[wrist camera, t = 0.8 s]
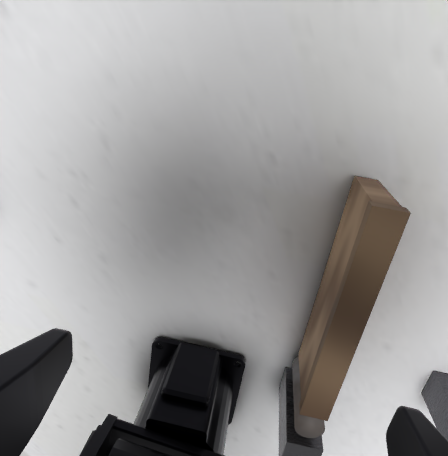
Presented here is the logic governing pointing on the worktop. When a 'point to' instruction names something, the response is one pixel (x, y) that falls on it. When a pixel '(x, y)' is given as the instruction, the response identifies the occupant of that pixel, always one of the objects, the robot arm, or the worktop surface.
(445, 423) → the gate frame
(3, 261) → the worktop surface
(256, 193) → the worktop surface
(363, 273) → the gate
